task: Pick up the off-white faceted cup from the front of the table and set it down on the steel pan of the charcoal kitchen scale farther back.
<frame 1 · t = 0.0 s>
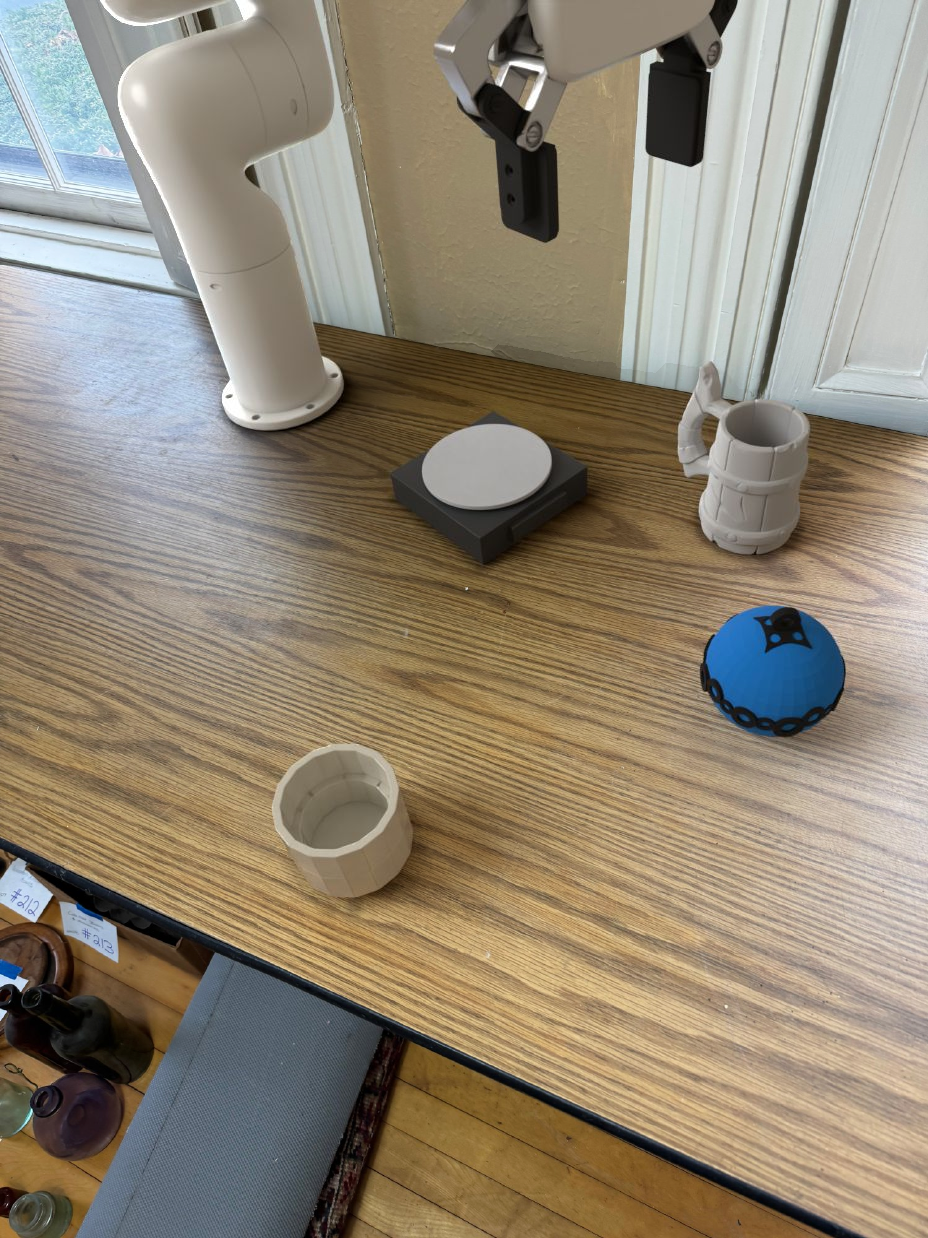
hand: (604, 194, 41), 31 cm above the table, tool pointing down, fingers open, 9 cm apart
mug: (726, 513, 70), on the table
ornament: (761, 711, 58), on the table
off-white faceted cup: (356, 845, 54), on the table
scale: (490, 496, 75), on the table
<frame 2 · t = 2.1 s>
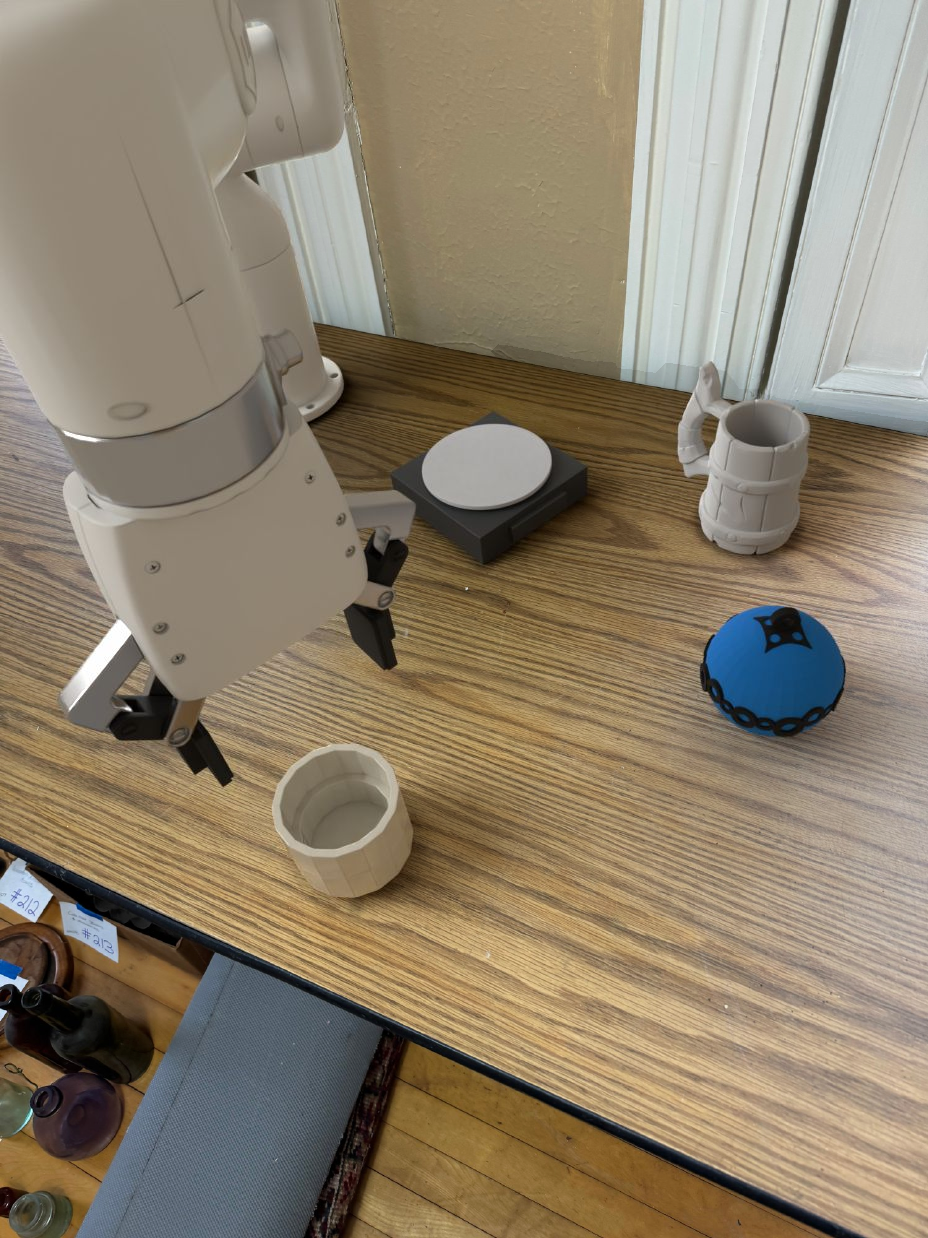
hand: (298, 707, 43), 15 cm above the table, tool pointing down, fingers open, 9 cm apart
nothing on the table moved.
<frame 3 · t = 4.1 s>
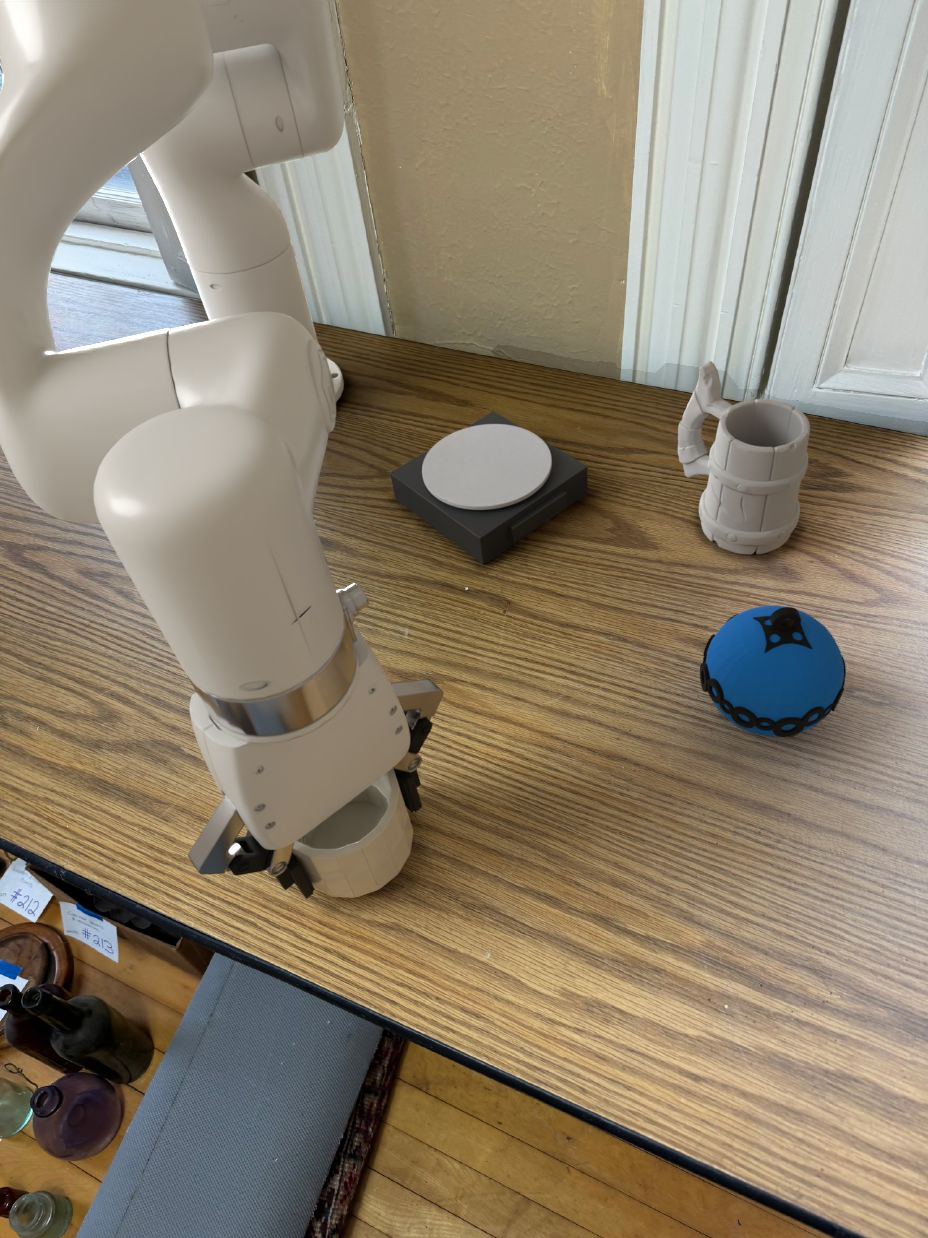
hand: (352, 835, 53), 1 cm above the table, tool pointing down, fingers closed on off-white faceted cup, 7 cm apart
off-white faceted cup: (356, 845, 54), on the table, touching gripper
everything else where it was.
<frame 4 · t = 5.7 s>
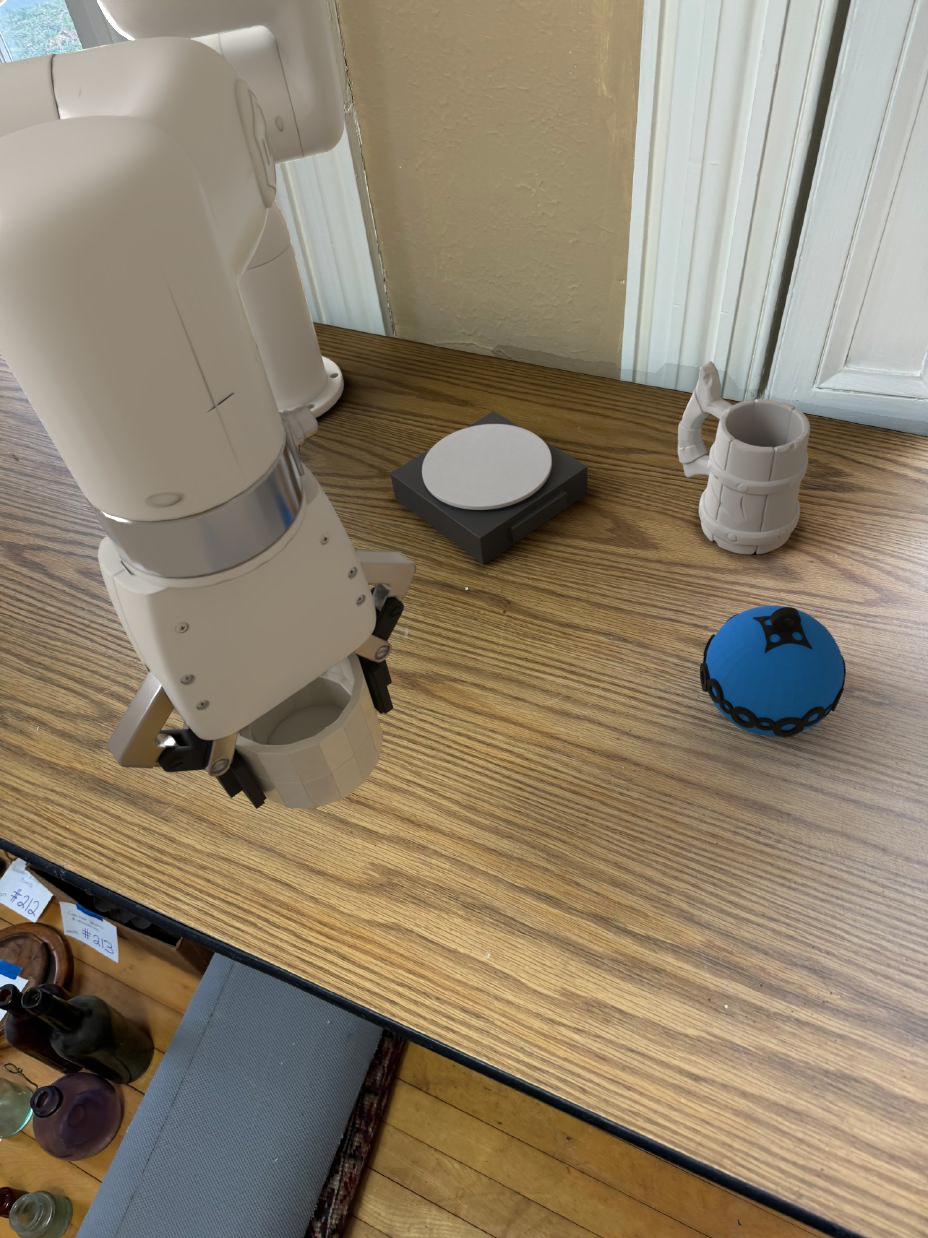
hand: (311, 739, 46), 11 cm above the table, tool pointing down, fingers closed on off-white faceted cup, 7 cm apart
off-white faceted cup: (317, 753, 47), point 10 cm above the table, touching gripper
everything else where it was.
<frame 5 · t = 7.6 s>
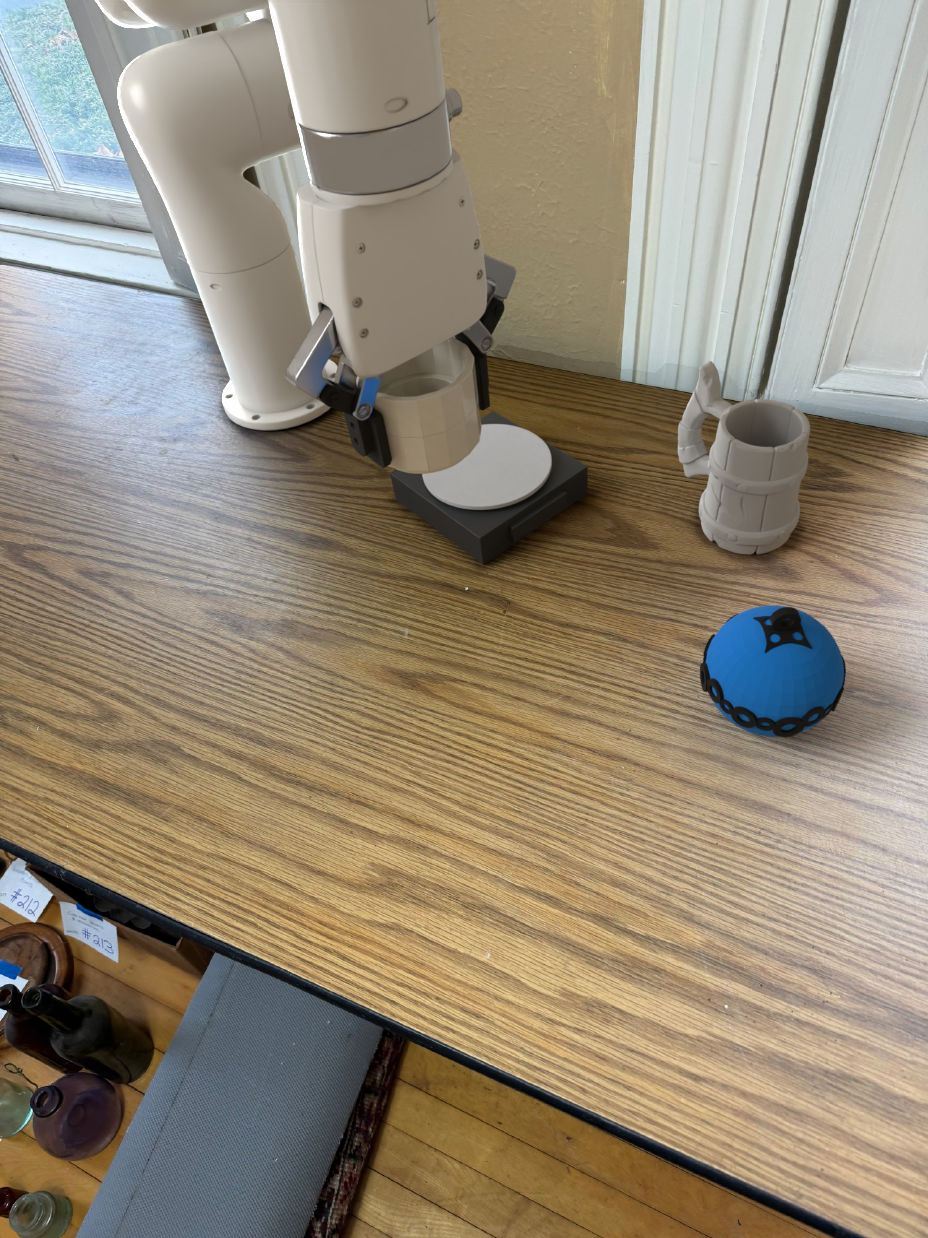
hand: (424, 427, 57), 15 cm above the table, tool pointing down, fingers closed on off-white faceted cup, 7 cm apart
off-white faceted cup: (427, 443, 58), point 14 cm above the table, touching gripper
everything else where it was.
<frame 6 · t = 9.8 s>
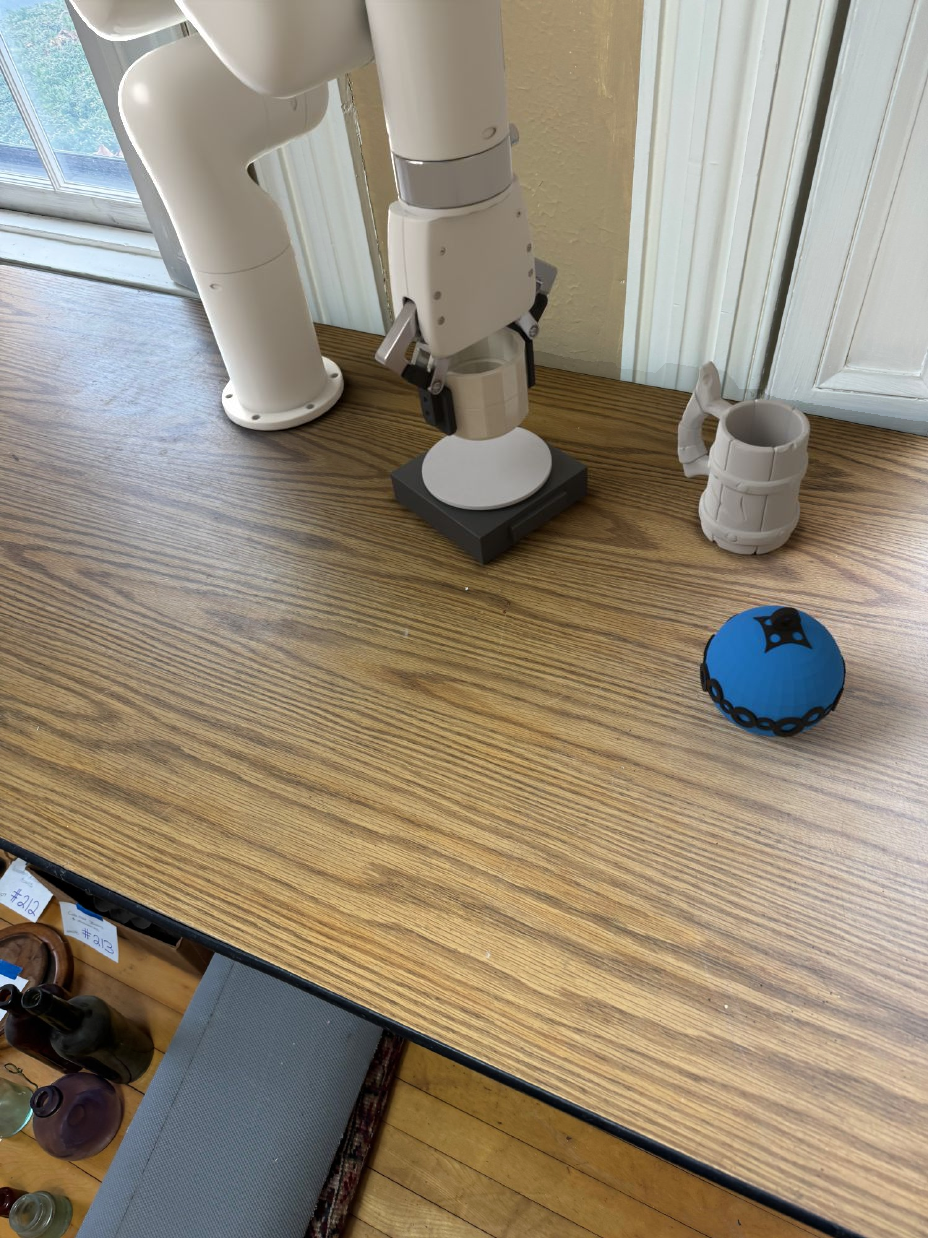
hand: (481, 402, 68), 10 cm above the table, tool pointing down, fingers closed on off-white faceted cup, 7 cm apart
off-white faceted cup: (483, 416, 68), point 9 cm above the table, touching gripper
everything else where it was.
when the fingers open (5 cm above the table, at t = 11.6 s): off-white faceted cup stays where it is, resting on scale.
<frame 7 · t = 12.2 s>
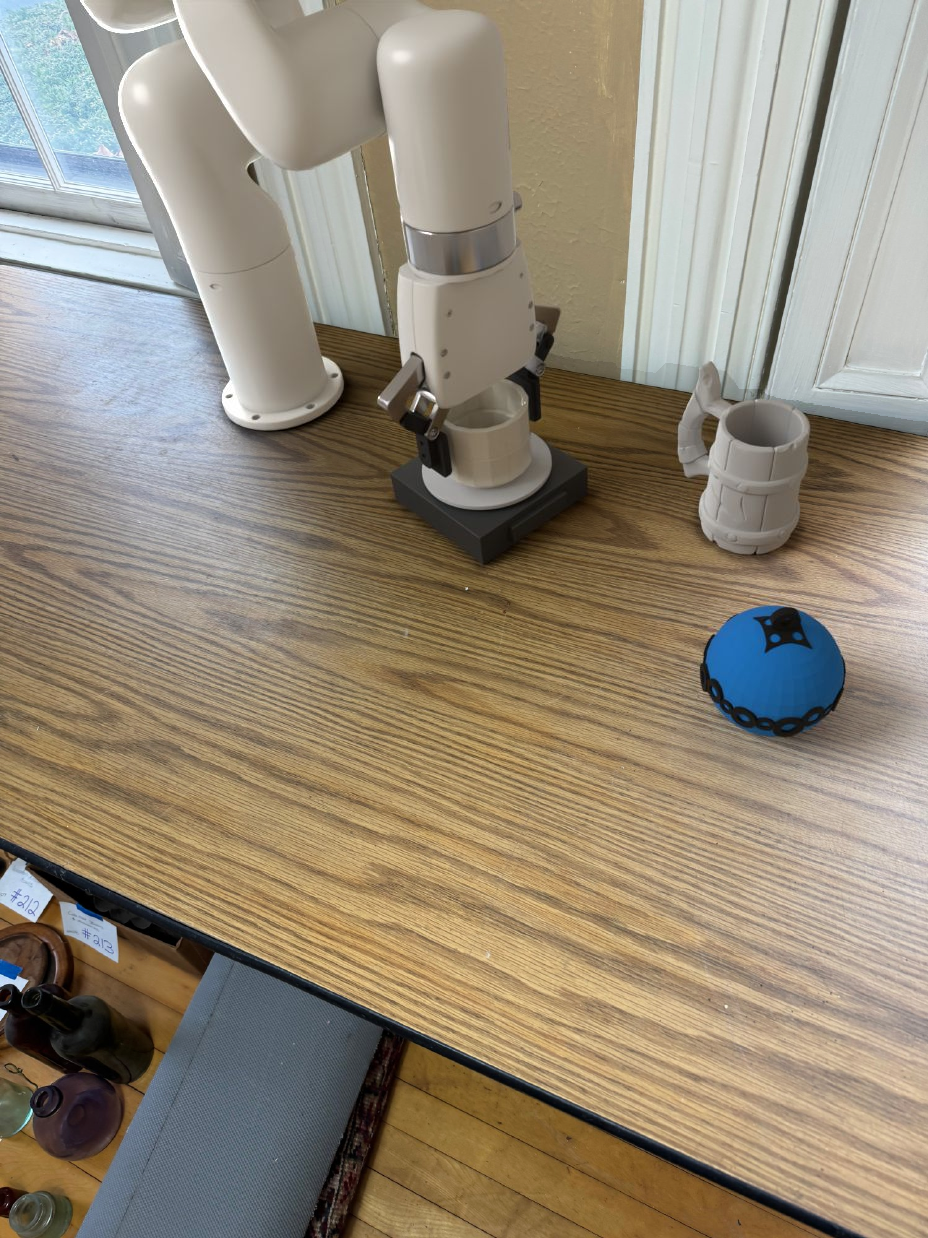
hand: (482, 440, 71), 6 cm above the table, tool pointing down, fingers open, 9 cm apart
off-white faceted cup: (488, 463, 72), point 4 cm above the table, touching scale
everything else where it was.
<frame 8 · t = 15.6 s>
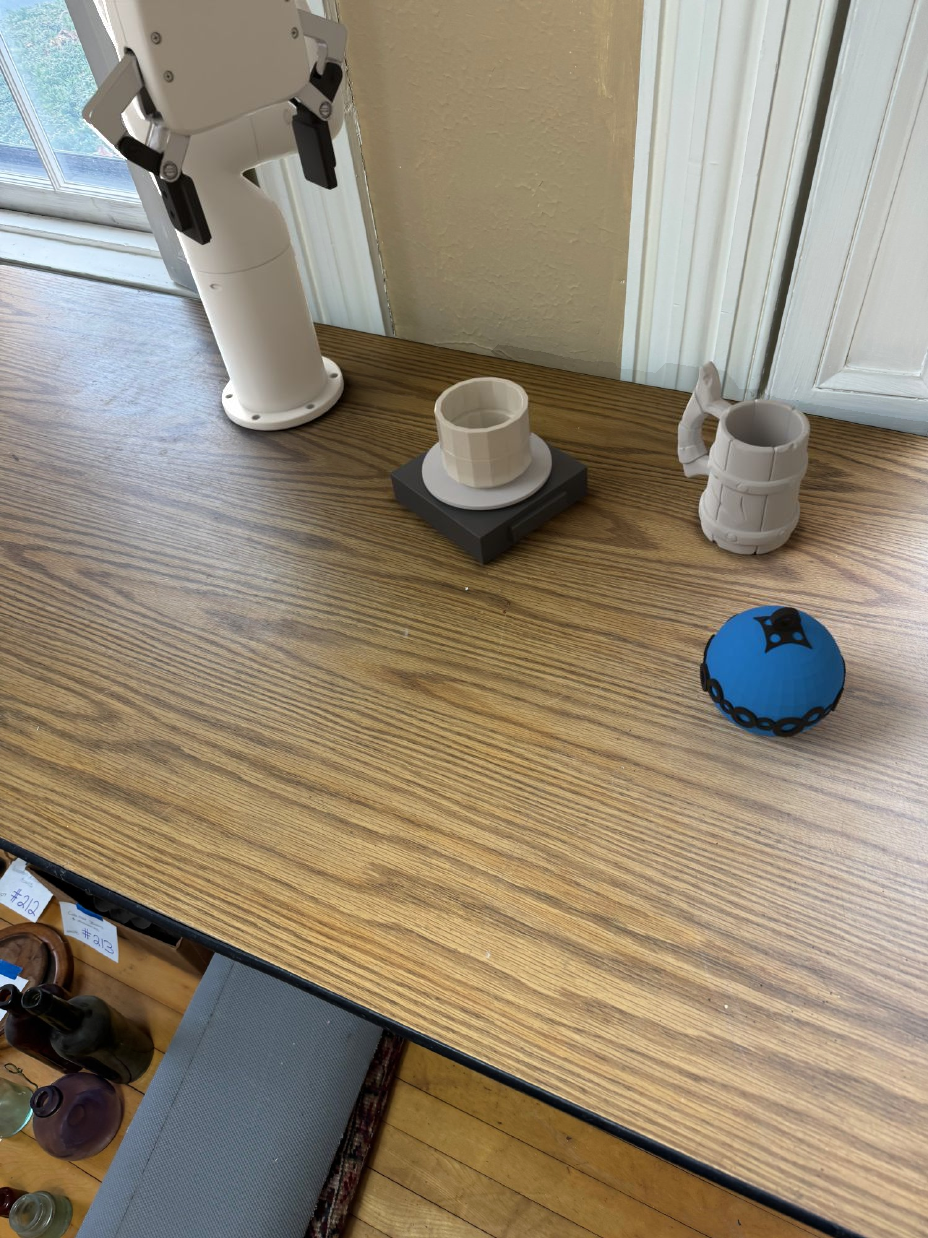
hand: (261, 209, 56), 26 cm above the table, tool pointing down, fingers open, 9 cm apart
nothing on the table moved.
at the end: off-white faceted cup inside the target area on the scale (0.2 cm from its centre), point 3.7 cm above the scale's base; off-white faceted cup tilted 0°; the gripper is holding nothing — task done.
